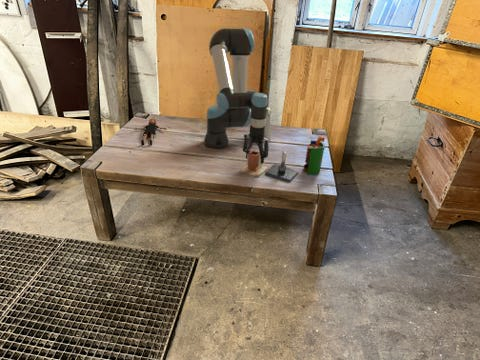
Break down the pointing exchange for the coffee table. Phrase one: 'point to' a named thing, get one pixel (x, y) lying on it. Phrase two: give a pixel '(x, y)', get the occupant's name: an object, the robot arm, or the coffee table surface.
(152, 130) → the woman figure
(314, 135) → the coffee table surface
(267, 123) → the grater
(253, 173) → the plywood pad
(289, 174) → the grey peg stand
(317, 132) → the coffee table surface
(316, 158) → the motor
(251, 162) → the square copper sleeve
